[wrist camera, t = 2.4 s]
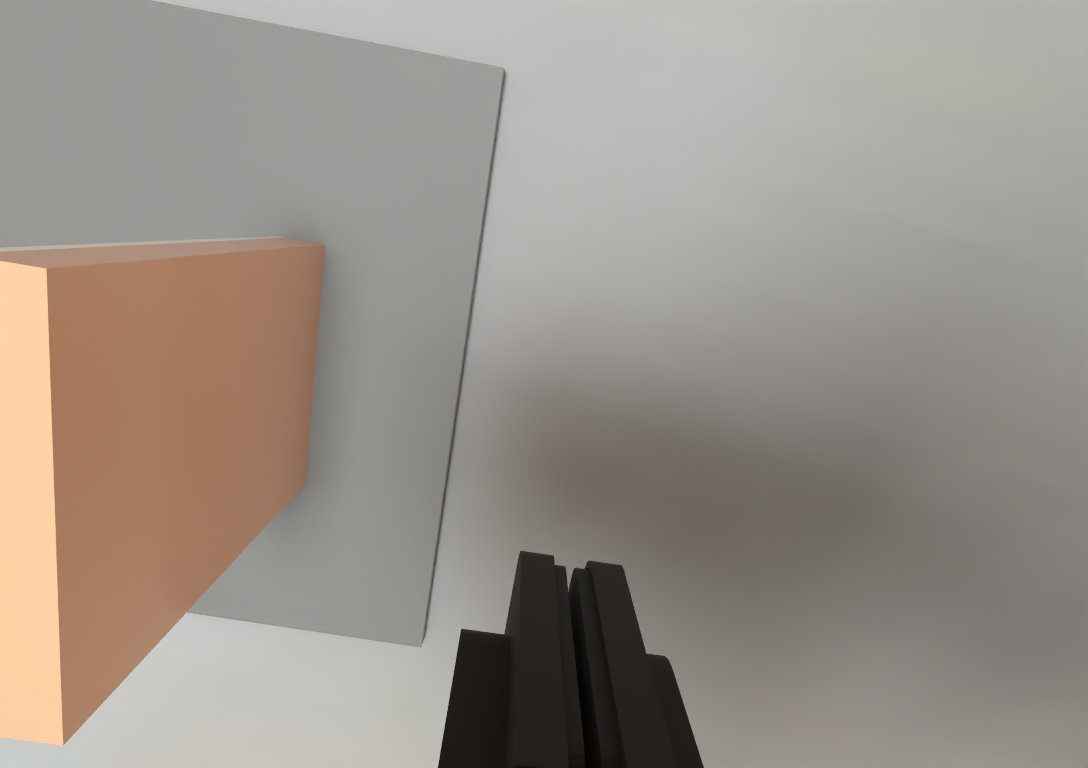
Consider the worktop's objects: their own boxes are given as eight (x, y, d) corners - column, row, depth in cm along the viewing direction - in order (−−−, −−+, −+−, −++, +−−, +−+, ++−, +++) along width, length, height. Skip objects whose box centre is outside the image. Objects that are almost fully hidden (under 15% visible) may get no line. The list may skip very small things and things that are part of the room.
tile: (325, 244, 21) (46, 268, 9) (305, 483, 23) (62, 745, 11) (278, 236, 21) (-63, 250, 9) (263, 476, 23) (-25, 733, 11)
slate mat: (505, 72, 20) (504, 67, 19) (424, 637, 25) (421, 647, 25) (-121, -47, 19) (-142, -56, 19) (-64, 564, 25) (-79, 572, 24)
